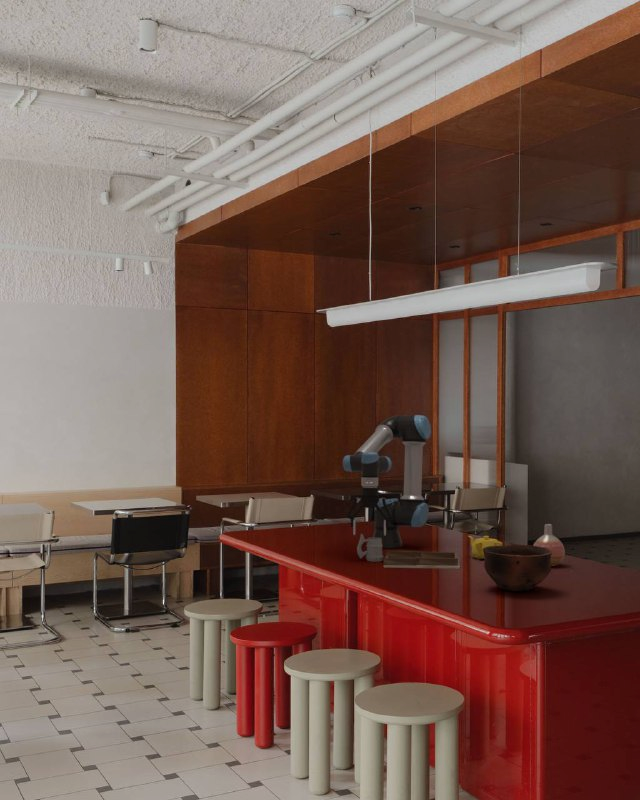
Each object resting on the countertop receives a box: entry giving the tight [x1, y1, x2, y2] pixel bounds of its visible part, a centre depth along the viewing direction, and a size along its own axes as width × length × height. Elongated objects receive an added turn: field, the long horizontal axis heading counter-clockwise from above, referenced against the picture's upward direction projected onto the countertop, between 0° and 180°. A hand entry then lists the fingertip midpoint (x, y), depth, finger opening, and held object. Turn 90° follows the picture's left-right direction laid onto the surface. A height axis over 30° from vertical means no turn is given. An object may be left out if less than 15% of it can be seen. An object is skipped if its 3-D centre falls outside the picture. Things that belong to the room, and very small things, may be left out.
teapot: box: [467, 535, 503, 560], centre depth 406 cm, size 14×13×10 cm
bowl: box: [483, 544, 552, 592], centre depth 335 cm, size 25×25×15 cm
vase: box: [532, 523, 566, 566], centre depth 387 cm, size 14×14×18 cm
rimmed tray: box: [383, 550, 461, 570], centre depth 392 cm, size 20×32×4 cm, turn 83°
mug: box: [356, 533, 384, 563], centre depth 402 cm, size 8×12×12 cm, turn 101°
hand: (369, 534), depth 401 cm, fingers open, 13 cm apart
